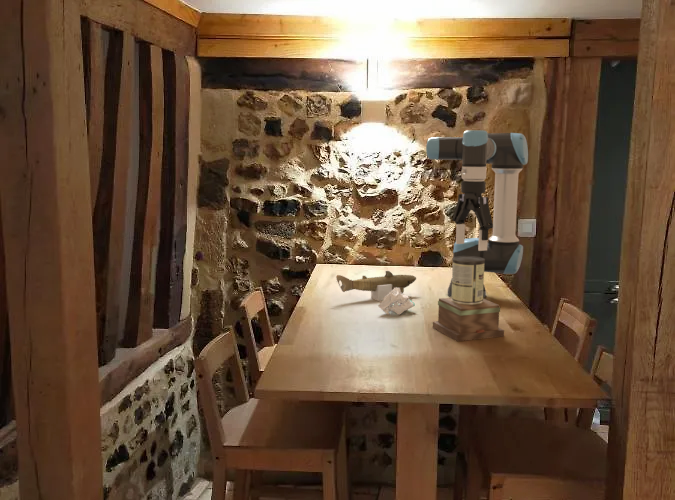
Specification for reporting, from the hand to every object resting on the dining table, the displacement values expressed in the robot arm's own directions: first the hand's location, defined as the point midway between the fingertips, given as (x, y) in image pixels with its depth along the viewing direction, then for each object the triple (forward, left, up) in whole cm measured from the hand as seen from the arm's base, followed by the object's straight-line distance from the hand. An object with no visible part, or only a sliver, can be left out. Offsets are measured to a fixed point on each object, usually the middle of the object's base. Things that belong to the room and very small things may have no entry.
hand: (470, 247), depth 200 cm
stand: (0, 0, -28) cm, 28 cm away
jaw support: (+11, -30, -28) cm, 43 cm away
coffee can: (0, -1, -18) cm, 18 cm away
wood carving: (+11, -50, -28) cm, 58 cm away
